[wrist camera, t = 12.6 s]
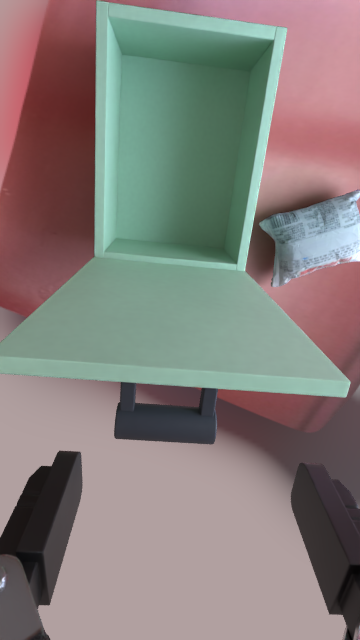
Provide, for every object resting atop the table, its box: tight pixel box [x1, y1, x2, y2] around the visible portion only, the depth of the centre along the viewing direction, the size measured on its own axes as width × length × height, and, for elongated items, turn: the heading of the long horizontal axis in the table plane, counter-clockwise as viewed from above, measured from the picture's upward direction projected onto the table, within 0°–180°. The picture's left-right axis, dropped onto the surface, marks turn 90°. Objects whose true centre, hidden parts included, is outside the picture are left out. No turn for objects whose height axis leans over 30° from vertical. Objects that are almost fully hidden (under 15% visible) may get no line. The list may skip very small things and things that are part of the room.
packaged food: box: [259, 190, 360, 287], centre depth 40 cm, size 9×12×5 cm
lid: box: [0, 257, 350, 444], centre depth 24 cm, size 21×15×5 cm
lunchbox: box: [94, 0, 287, 271], centre depth 34 cm, size 20×15×9 cm
